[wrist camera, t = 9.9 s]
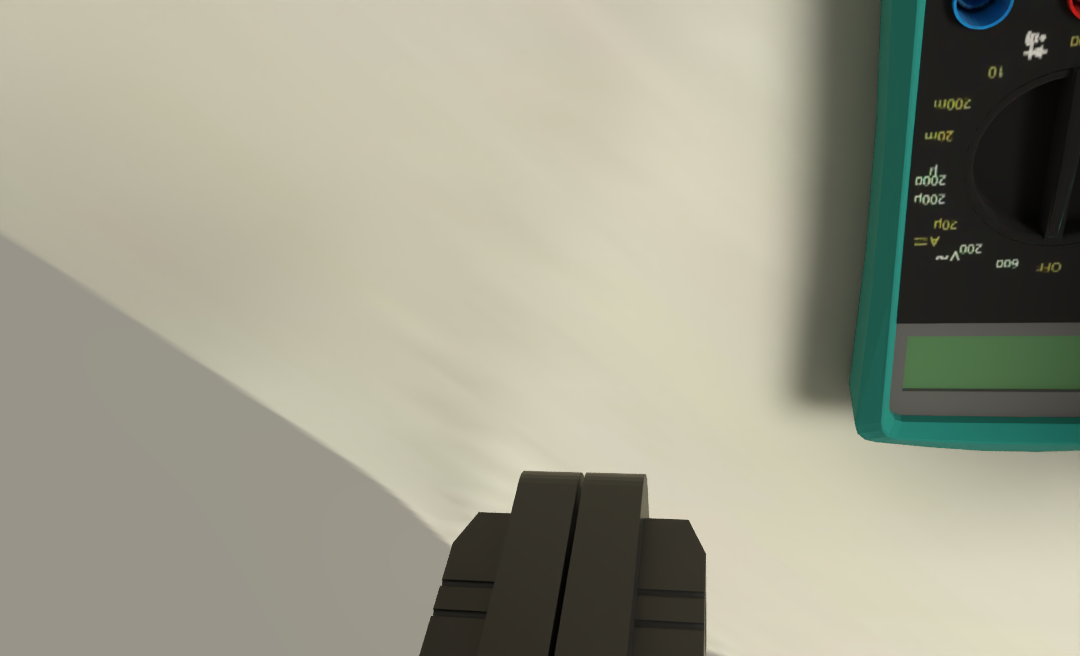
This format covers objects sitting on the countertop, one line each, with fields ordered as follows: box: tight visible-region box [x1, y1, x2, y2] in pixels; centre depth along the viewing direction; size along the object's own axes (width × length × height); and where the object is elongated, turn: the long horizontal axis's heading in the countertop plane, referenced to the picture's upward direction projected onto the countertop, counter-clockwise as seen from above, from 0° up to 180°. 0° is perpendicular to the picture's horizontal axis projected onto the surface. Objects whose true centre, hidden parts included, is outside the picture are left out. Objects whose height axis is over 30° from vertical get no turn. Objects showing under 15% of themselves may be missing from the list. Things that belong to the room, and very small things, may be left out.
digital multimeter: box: [849, 0, 1080, 452], centre depth 21 cm, size 7×15×3 cm, turn 7°
